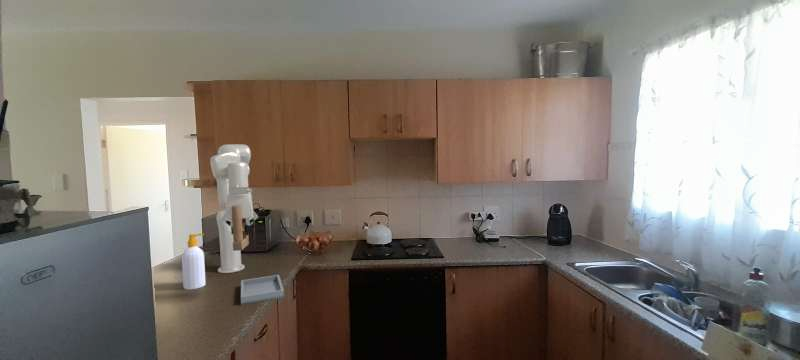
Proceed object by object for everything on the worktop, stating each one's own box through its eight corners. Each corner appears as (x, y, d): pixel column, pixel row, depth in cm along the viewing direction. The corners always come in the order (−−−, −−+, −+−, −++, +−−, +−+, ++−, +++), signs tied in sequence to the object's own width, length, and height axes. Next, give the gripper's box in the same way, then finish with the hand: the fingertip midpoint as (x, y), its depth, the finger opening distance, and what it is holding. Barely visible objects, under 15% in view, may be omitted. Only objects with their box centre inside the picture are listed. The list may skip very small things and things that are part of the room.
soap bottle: (203, 288, 153) (200, 235, 152) (180, 290, 152) (177, 237, 150) (210, 282, 162) (207, 231, 161) (188, 284, 160) (185, 233, 159)
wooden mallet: (249, 244, 150) (247, 203, 149) (242, 250, 139) (239, 206, 138) (240, 244, 149) (237, 203, 148) (232, 251, 139) (230, 206, 138)
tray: (241, 286, 154) (241, 280, 154) (279, 281, 161) (279, 274, 161) (241, 304, 134) (240, 297, 134) (284, 297, 141) (283, 290, 141)
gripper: (260, 190, 150) (262, 231, 151) (216, 192, 143) (219, 235, 144) (260, 191, 143) (262, 235, 144) (214, 193, 137) (217, 239, 138)
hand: (240, 234), depth 144 cm, fingers closed on wooden mallet, 4 cm apart
